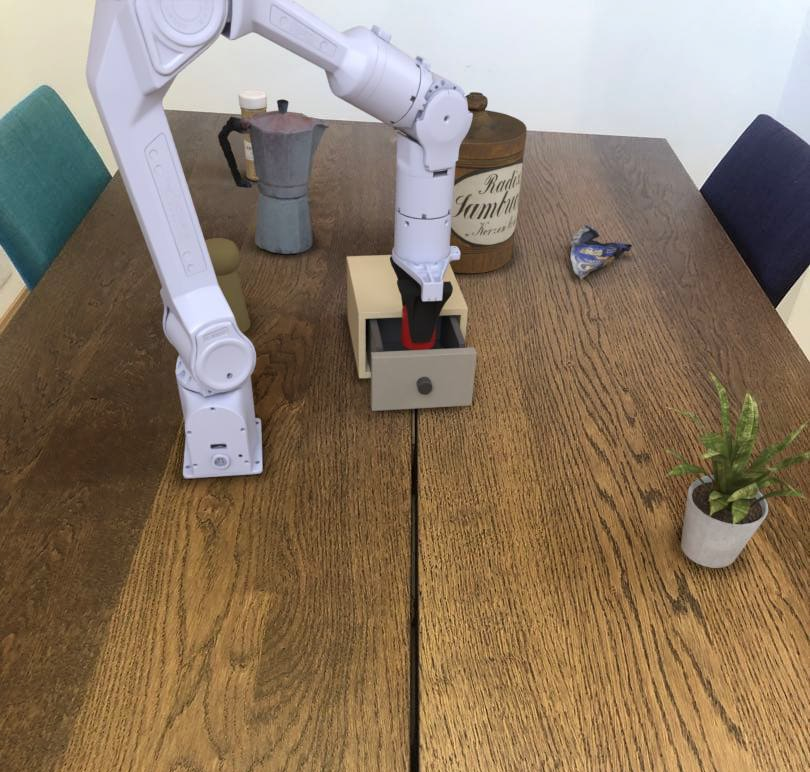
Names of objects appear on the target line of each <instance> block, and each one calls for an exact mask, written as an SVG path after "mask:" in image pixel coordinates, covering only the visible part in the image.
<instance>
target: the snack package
mask: <svg viewBox="0 0 810 772" xmlns="http://www.w3.org/2000/svg"><path fill="white" fill-rule="evenodd" d="M597 238H600V234H599V232H598V230H597V229H596V227H594V226H592V225H588V224H585V225H584V226H583V227H582V228H581V229H579V230H577V232H576V233H575V234H574V235H573V237H572V238H571V240H570V245H572V247H571V251H570V262H571V264H572V270H573V272H574V275H576V276H577V277H578V278H579V280H583V278H585V277H586V276H588V275H589V274H590V273H591V272H593V271H597V270H600V269H601V268H605V267H606V266H610V265H612V264H613V263H614V262H616V260H617V259H619V258H620V257H621V256H623V254H624V253H625V252H629V251H630V250H631V249H632V248H633V247H632V246H633V245H632V244H631V243H621V242H617V241H616V240H615V241H612V242H604V243H602V242H599V241H597V240H594V239H597ZM624 257H626V258H627V257H628V256H627V255H624Z"/></svg>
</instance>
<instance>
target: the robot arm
mask: <svg viewBox="0 0 810 772" xmlns="http://www.w3.org/2000/svg"><path fill="white" fill-rule="evenodd" d="M251 33H254V34H257V35H258V36H260V37H262V38H264V39H266V40H268V41H270V42H272V43H273V44H276V45H277V46H280V47H281V48H283V49H284V50H287V51H289V52H291V53H292V54H294V55H296V56H298V57H300V58H302V59H304V60H305V61H307V62H309V63H311V64H313V65H315V66H316V67H318V68H320V69H322V70H324V72H325V75H326V80H327V83H328V86H329V89H330V92H331V93H332V94H333V95H334V96H335V97H337V98H338V99H340V100H342V101H343V102H346V103H348V104H350V105H351V106H353V107H355V109H356V108H357V109H358V110H360V111H362V112H364V113H366V114H367V115H369V116H371V117H373V118H374V119H376V120H378V121H379V122H382V123H383V124H385V125H387V126H389V127H391V128H392V129H393V130H394V131H397V132H396V160H395V162H396V163H395V197H394V198H395V199H394V200H395V201H394V202H395V203H394V235H393V236H394V237H393V238H394V239H393V241H394V242H393V247H392V249H391V255H392V256H391V257H390V262H391V265H392V267H393V269H394V271H395V273H396V276H397V279H398V280H397V286H398V289H399V292H400V294H401V299H402V306H404V305H406V310H407V317H408V326H409V333H410V337H411V340H412V343H425V342H430V341H431V339H432V336H433V333H434V330H435V327H436V323H437V320H438V317H439V315H440V312H441V310H442V308H443V306H444V305H445V303H446V302H447V300H448V299H449V298H450V296H451V295H452V291H453V287H452V284H451V282H450V281H449V282H443V278H444V275H445V273H446V270H447V268H448V265H449V263H450V261H452V260H459V259H460V250H459V248H458V247H457V246H450V234H451V219H452V207H453V193H454V179H455V165H456V161H458V155H459V148H460V145H461V142H462V141H463V139H464V138H465V136H466V135H467V133H468V131H469V128H470V126H471V122H472V117H473V114H472V113H470V111H468V103H467V98H466V97H465V94H466V93H465V92H464V90H463V89H462V87H461V86H460V85H458V84H457V83H456V82H453V81H451V80H449V79H448V78H446V77H443V76H441V75H440V74H438V73H435V72H433V71H431V70H430V69H431V66H432V63H431V61H430V60H428V59H426V58H425V57H423V56H421V55H417V56H416V57H415V58H414V57H412V56H411V55H409V54H408V53H406V52H404V50H402V49H400V48H399V47H397V46H395V45H394V44H393V43H391V40H392V36H393V35H392V34H391V33H390V32H389V31H388V30H385V29H384V28H382V27H380V26H378V25H376V24H373V25H372V26H371V29H369V28H368V27H366V26H364V25H357V26H354V27H351V28H349V29H346V30H344V31H340V30H338V29H336V28H335V27H333V26H332V25H331V24H329V23H328V22H326V21H325V20H323V19H322V18H320V17H319V16H317V15H316V14H314V13H313V12H312V11H310V10H308V9H307V8H306V7H304V6H302V5H301V4H299V3H298V2H296V1H295V0H95V4H94V11H93V19H92V24H91V30H90V39H89V44H88V52H87V61H86V65H85V77H86V84H87V87H88V90H89V93H90V95H91V96H90V97H91V98H92V101H93V104H94V106H95V109H96V112H97V114H98V117H99V120H100V122H101V125H102V128H103V131H104V134H105V136H106V138H107V141H108V144H109V146H110V149H111V152H112V155H113V158H114V161H115V163H116V166H117V169H118V172H119V174H120V177H121V179H122V182H123V185H124V187H125V190H126V193H127V195H128V199H129V201H130V204H131V206H132V208H133V212H134V214H135V217H136V220H137V222H138V225H139V228H140V231H141V233H142V236H143V239H144V241H145V244H146V247H147V250H148V252H149V255H150V258H151V260H152V263H153V266H154V268H155V271H156V274H157V276H158V279H159V282H160V285H161V288H160V290H159V295H160V297H161V300H162V303H163V316H162V328H163V333H164V335H165V337H166V339H167V340H168V342H169V343H170V344H171V346H173V347H174V349H175V350H176V351H177V353H178V356H177V359H176V365H175V370H174V371H175V379H176V384H177V388H178V389H177V390H178V393H179V394H178V395H179V399H180V406H181V411H182V415H183V420H184V434H185V440H184V452H183V453H184V454H183V465H182V466H183V467H182V476H183V478H184V479H204V478H216V477H232V476H233V477H234V476H247V475H259V474H261V473H263V472H264V468H263V439H262V437H263V434H262V432H263V431H262V419H261V418H259V417H256V411H255V403H254V393H253V385H252V384H253V383H252V377H251V376H252V374H253V372H254V370H255V368H256V364H257V353H256V349H255V346H254V344H253V342H252V341H251V340H250V339H249V338H248V337H247V336H246V335H245V333H242V332H241V331H240V330H239V328H238V326H237V324H236V321H235V317H234V315H233V313H232V311H231V309H230V307H229V305H228V303H227V301H226V299H225V297H224V295H223V293H222V291H221V289H220V287H219V284H218V281H217V278H216V275H215V272H214V269H213V265H212V262H211V259H210V256H209V253H208V249H207V246H206V243H205V240H206V239H205V237H204V234H203V230H202V227H201V224H200V221H199V218H198V215H197V211H196V208H195V204H194V201H193V198H192V195H191V192H190V189H189V185H188V182H187V178H186V175H185V172H184V170H183V167H182V163H181V160H180V155H179V153H178V150H177V147H176V143H175V141H174V137H173V134H172V131H171V128H170V125H169V121H168V118H167V115H166V111H165V109H164V106H163V100H164V98H165V96H166V95H167V93H168V91H169V90H170V88H171V87H172V84H173V83H174V82H175V79H176V78H177V76H178V75H179V73H181V72H182V71H183V70H184V69H186V68H187V67H188V66H189V65H191V64H192V63H193V62H194V61H196V60H197V58H199V57H200V56H201V55H202V54H203V53H206V51H207V50H208V49H209V48H210V47H211V46H212V45H214V43H216V41H217V40H218V39H219V37H220V36H223V37H224V38H225V39H228V40H229V41H236V40H238V39H240V38H242V37H245V36H247V35H249V34H251Z"/></svg>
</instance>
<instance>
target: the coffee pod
mask: <svg viewBox="0 0 810 772" xmlns="http://www.w3.org/2000/svg"><path fill="white" fill-rule="evenodd" d="M435 333H436V327H435V330H434V333H433V336H432V339H431V341H430V342H425V343H412V340H411V337H410V333H409V326H408V317H407V310H406V305H404V306H403V308H402V330H401V343H402V345H403V346H404V347H405V348H407V349H410V350H428V349H430V348H432V347H433V346H434V344H435Z"/></svg>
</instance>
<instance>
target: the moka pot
mask: <svg viewBox="0 0 810 772" xmlns="http://www.w3.org/2000/svg"><path fill="white" fill-rule="evenodd" d="M289 103H290V102H289V101H288V100H286V99H282V98H281V99H278V100H276V104H277V110H269V111H267V112H264V113H258V114H254V115H253V117H252V118H242V117H241V118H239V117H235V116H230V117H229V119H228V120H226V122H225V124H224V125H223V126H222V127H221V130H220V131H219V132H218V135H217V138H218V143H219V146H220V147H221V150H222V152H223V155H224V158H225V159H226V162H227V166H228V168H229V169H230V173H231V176H232V178H233V180H234V182H235V185H236V187H239V188H246V189H248V188H252V185H253V184H254V181H253V180H251V179H247V180H246V179H243V178H242V175H241V172H240V170H239V169H238V164H237V161H236V160H237V159H236V157H235V155H234V152H233V150H232V146H231V142H230V141H229V139H228V138H229V135H230V134H231V133H232V132H236V133H238V134H241V135H243V134H249V135H250V140H251V146H252V152H253V158H254V165H255V172H256V176H257V177H258V178H259V179H258V181H257V183H256V185H257V188H258V190H259V193H258V199H257V212H256V213H257V214H256V223H255V234H254V244H255V245H256V246H257V247H258V248H260V249H262V250H265V251H267V252H269V253H274V254H280V255H284V254H285V255H291V254H299V253H304V252H306V251H308V250H310V249H311V248H312V247H313V245H314V243H313V242H314V237H313V227H312V226H313V225H312V218H311V209H310V205H311V204H312V199H311V197H310V196H309V193H308V192H309V186H310V179H311V176H312V169H313V168H312V167H313V162H314V161H313V160H314V157H315V154H316V152H317V150H318V147H319V146H320V145H319V144H320V142H321V140H322V138H323V136H324V133H325V132H326V130H327V129H328V128H329V125H328V124H327V123H326V122H325V121H323V120H322V119H320V118H317V117H312V116H308V115H306V114H304V113H302V112H295V111H288V109H289Z"/></svg>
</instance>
